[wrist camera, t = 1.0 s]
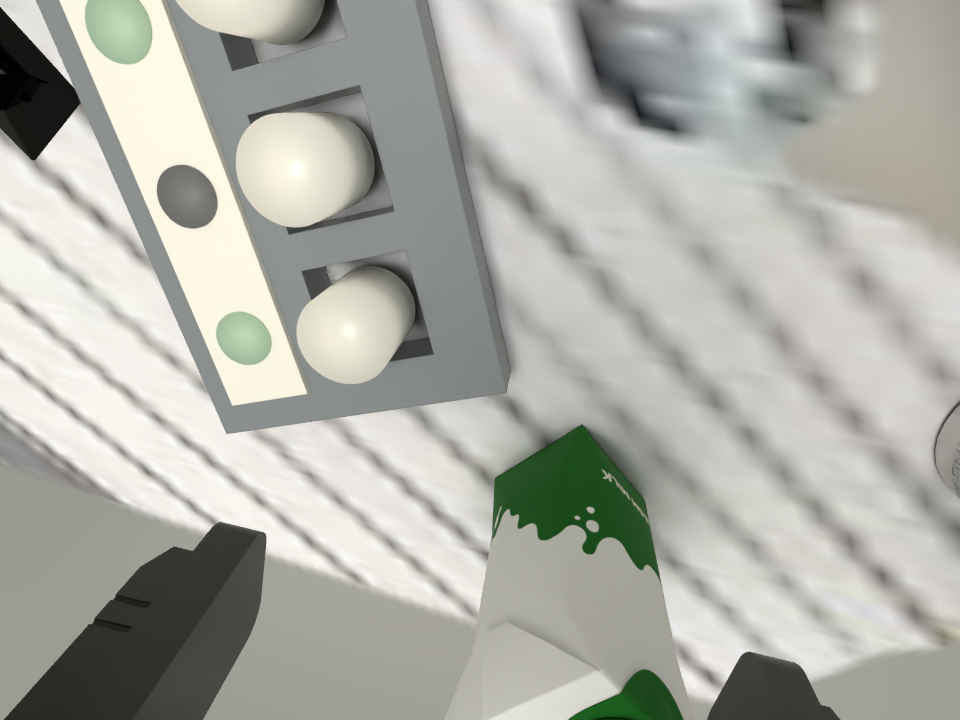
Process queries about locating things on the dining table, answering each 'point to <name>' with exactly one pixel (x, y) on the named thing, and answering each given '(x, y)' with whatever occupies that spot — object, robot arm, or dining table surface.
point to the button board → (307, 250)
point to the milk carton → (571, 599)
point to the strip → (188, 191)
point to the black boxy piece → (30, 92)
